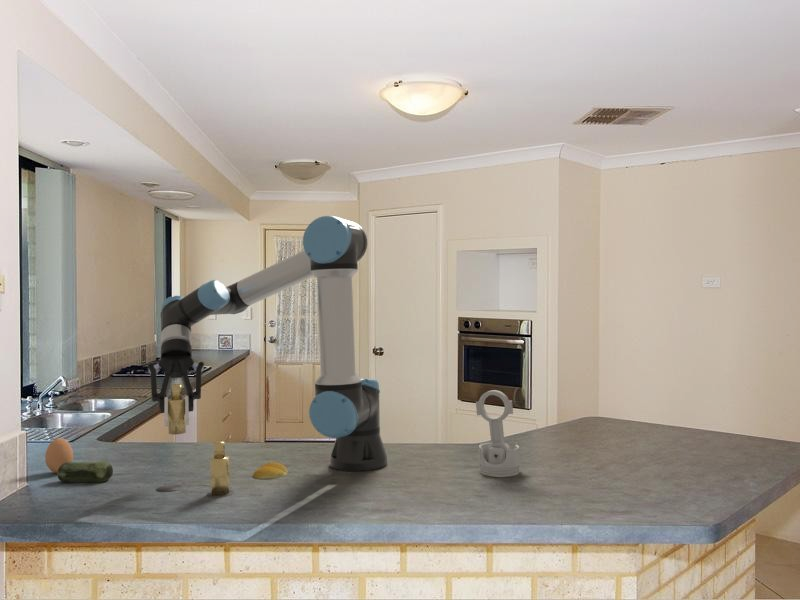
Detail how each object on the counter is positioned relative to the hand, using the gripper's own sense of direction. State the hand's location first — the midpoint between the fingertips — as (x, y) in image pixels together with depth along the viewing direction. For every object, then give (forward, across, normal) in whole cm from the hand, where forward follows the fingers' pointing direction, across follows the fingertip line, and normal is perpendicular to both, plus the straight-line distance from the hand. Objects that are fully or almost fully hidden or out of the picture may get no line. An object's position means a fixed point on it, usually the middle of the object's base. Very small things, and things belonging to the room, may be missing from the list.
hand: (176, 422), depth 161 cm
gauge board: (+16, -4, -7) cm, 18 cm away
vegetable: (-1, +22, -25) cm, 34 cm away
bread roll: (+10, -22, -14) cm, 28 cm away
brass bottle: (0, 0, -5) cm, 5 cm away
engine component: (+19, -77, -3) cm, 79 cm away
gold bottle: (+18, -9, -3) cm, 20 cm away
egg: (-10, +30, -34) cm, 46 cm away
